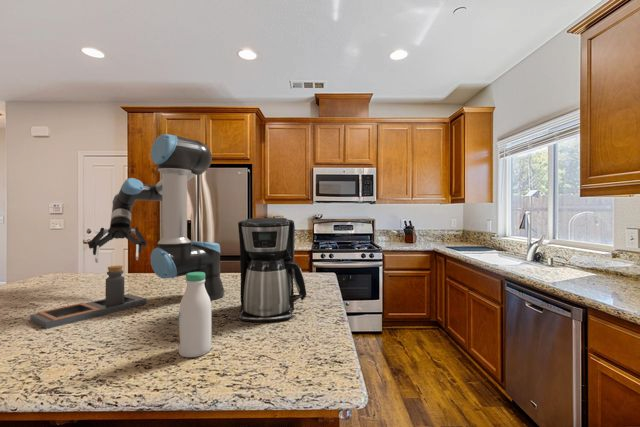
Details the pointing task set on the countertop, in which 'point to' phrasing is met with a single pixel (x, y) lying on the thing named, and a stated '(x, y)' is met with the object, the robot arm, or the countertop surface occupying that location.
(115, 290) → the bottle
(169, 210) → the robot arm
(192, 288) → the milk bottle
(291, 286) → the coffee maker
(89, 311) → the rail
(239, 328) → the countertop surface
